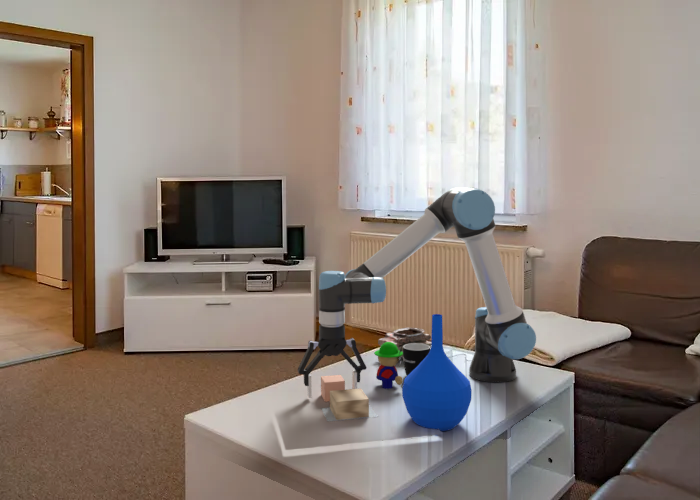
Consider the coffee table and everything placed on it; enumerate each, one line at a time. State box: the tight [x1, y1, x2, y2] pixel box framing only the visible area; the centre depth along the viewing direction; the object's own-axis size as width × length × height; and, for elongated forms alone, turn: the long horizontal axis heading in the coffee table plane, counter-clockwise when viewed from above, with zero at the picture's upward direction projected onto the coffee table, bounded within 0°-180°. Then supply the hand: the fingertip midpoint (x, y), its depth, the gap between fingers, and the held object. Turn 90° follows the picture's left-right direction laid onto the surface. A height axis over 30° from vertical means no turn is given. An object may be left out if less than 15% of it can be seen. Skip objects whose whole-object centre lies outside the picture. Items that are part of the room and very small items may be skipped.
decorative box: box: [377, 327, 431, 360], centre depth 235 cm, size 13×20×10 cm, turn 119°
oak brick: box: [329, 388, 370, 421], centre depth 179 cm, size 9×9×5 cm
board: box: [320, 403, 379, 422], centre depth 180 cm, size 14×10×1 cm
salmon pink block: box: [320, 374, 346, 403], centre depth 191 cm, size 6×6×7 cm
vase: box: [401, 313, 473, 432], centre depth 172 cm, size 18×18×30 cm
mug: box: [402, 343, 431, 377], centre depth 213 cm, size 12×9×10 cm
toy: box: [373, 342, 404, 390], centre depth 201 cm, size 11×9×15 cm
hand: (332, 394), depth 192 cm, fingers open, 13 cm apart
